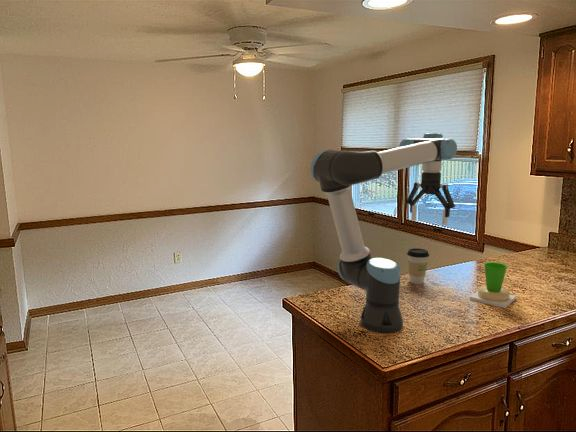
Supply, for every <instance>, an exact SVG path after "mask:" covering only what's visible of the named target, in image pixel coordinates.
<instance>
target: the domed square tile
mask: <svg viewBox="0 0 576 432" xmlns="http://www.w3.org/2000/svg"><path fill="white" fill-rule="evenodd" d="M469 300H471V301H475V302H479V303H483V304H486V305H491V306H496V307H500V308H503V309H506V308H507V307H508V306H510V304H512V303H513V302H514V301H515V300H517V295H514V294H510V291H509V290H508V289H506V288H503V287H501V291H500V292H498V293H494V292H489V291H488V290H487V286H486V285H482V286H479V287H478V288H477V291H476V292H474V293H473V294H471V295H470V296H469Z"/></svg>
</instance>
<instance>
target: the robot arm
mask: <svg viewBox="0 0 576 432" xmlns="http://www.w3.org/2000/svg"><path fill="white" fill-rule="evenodd" d="M457 152H458V145H457V142H456V140H454V139H453V138H447V137H443V133H441V132H438V133H437V132H434V133H433V132H430V133H429V132H426V133H424V134H423V137H420V138H419V137H415V138H413V137H408V138H403V139H401V141H400V142H399V145H398V147H395V148H394V147H393V148H391V149H387V150H383V151H376V150H368V151H354V150H353V151H352V150H335V149H323V150H320V151H319V152H318V153H316V154H315V155H314V157H313V159H312V160H311V162H310V175H311V177H312V178H313V180H315V181H316V182H318V183H319V187H320V190H321V192H322V193H324V194H325V195H326V196H327V199H328V203H329V207H330V211H331V216H332V218H333V222H334V226H335V229H336V234H337V237H338V241H339V245H340V249H341V253H340V254H339V259H338V263H337V273H338V275H339V276H340V278H341V279H342V280H343V281H345V282H346V283H348V284H349V285H352V286H354V287H357V288H358V289H360V290H363V291H364V292H365V304H364V306H363V310H362V312H361V314H360V325H361V327H363V328H364V329H366V330H369V331H371V332H375V333H381V334H382V333H384V334H387V333H395V332H398V331H400V330H402V329H403V327H404V318H403V315H402V312H401V308H400V291H401V290H400V289H401V288H400V287H401V277H402V276H401V268H400V266H399V264H398V263H397V262H395V261H394V260H391V259H388V258H383V257H373V258H372V255H371V250H370V248H369V247H367V246H365V243H364V239H363V235H362V231H361V228H360V223H359V220H358V216H357V215H358V214H357V212H356V208H355V203H354V199H353V195H352V192H351V188H352V186H354V185H358V184H361V183H365V182H369V181H373V180H377V179H379V178H381V177H382V175H384V174H387V173H388V174H389V173H391V172H395V171H399V170H402V169H407V168H411V167H415V166H419V165H421V171H422V172H421V178H420V179H421V181H420V182H419V181H416V182H414V183H413V186H412V187H413V188H412V190H411V191H410V193H409V195H408V197H407V199H406V201H405V203H406V204H408V205H409V206H410V207H409V213H410V214H411V217H410V218H411V219H410V220H411V222H414V221H417V208H418V205H417V203H418V202H419V201H420V199H421V198H422V197H423V196H424V195H432V196H433V195H434V196H435V197H436V198H437V200H439V202H440V203H441V205H442V206H443V210H442V223H441V225H442V226H446V225H448V218H449V217H450V213H451V209H454V208H455V207H456V205H455V203H454V200H453V198H452V195H451V194H450V190H449V184H441V180H442V179H441V178H442V173H441V171H442V165H443V164H442V161H443V160H444V161H446V160H452V159H454V157H455V156H456V155H457ZM419 188H421V190H420V191H419V193H418V194H417V192H418V190H419ZM440 189H441V190H440ZM441 191H442V192H443V194H444V196H443V194H442V192H441ZM416 194H417V195H416ZM415 195H416V196H415Z"/></svg>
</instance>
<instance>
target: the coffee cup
mask: <svg viewBox="0 0 576 432" xmlns="http://www.w3.org/2000/svg"><path fill="white" fill-rule="evenodd" d="M406 255H407V257H408V258H407V262H408V263H407V265H408V275H409V282H410V283H411V284H415V285H417V284H418V285H420V284H424V282H425V276H426V272H427V266H428V258H429V257H430V254H429V251H428V250H427V249H424V248H409V249H408V251H407V254H406Z"/></svg>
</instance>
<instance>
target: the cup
mask: <svg viewBox="0 0 576 432" xmlns="http://www.w3.org/2000/svg"><path fill="white" fill-rule="evenodd" d="M483 266H484V273H485V274H484V276H485V286H487V290H488V291H489V292H494V293H498V292H500V291H501V288H503V282H504V280H505V276H506V272H507V269H508V264H505V263H502V262H497V261H496V262H495V261H487V262H483Z"/></svg>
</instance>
